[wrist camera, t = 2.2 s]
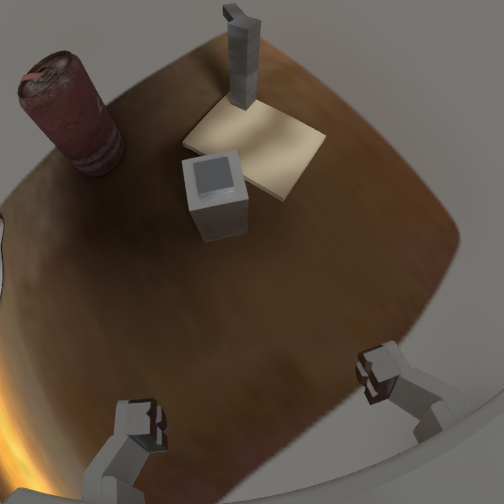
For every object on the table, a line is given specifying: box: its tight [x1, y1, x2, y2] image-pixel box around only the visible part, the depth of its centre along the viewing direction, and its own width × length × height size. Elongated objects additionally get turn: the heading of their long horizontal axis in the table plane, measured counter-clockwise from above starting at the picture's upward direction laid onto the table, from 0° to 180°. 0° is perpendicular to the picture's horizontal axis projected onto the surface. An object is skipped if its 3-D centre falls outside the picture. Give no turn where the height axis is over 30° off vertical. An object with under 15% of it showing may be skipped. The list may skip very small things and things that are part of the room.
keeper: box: [182, 3, 326, 202], centre depth 24 cm, size 13×11×12 cm
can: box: [18, 51, 125, 177], centre depth 22 cm, size 6×6×14 cm
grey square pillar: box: [182, 150, 249, 243], centre depth 24 cm, size 4×4×9 cm
